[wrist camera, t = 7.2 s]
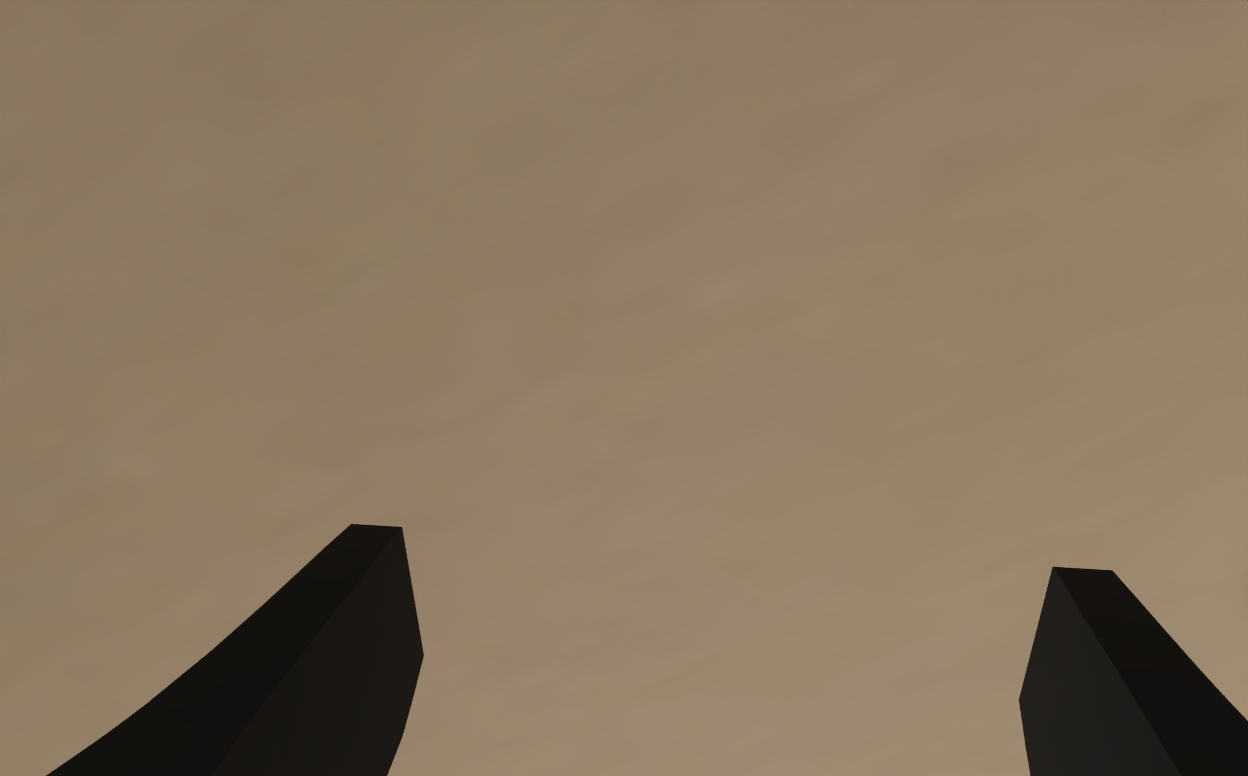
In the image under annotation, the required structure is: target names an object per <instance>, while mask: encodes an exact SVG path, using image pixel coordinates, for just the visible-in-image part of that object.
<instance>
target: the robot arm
mask: <svg viewBox="0 0 1248 776" xmlns="http://www.w3.org/2000/svg"><path fill="white" fill-rule="evenodd" d="M423 656H424V654H423V648H422V642H421V636H420V630H419V624H418V618H417V612H416V607H415V601H414V595H413V589H412V583H411V577H410V571H409V565H408V560H407V554H406V548H405V542H404V536H403V530H402V527H392V526H376V525H359V524H351V525H350V526H348V527H347V528H346V529H345V530H344V531H343V532H342V533H341V534H340V535H338V536H337V537H336V538H335V539H334V540H333V541H332V542H330V543H329V544H328V545H327V546H326V547H325V548H324V549H323V550H322V551H321V552H320V553H318V554H317V555H316V556H315V557H314V558H313V559H312V560H311V561H310V562H309V563H308V564H307V565H305V566H304V567H303V568H302V569H301V570H300V571H299V572H298V573H297V574H296V575H295V576H294V577H293V578H292V579H290V580H289V581H288V582H287V583H286V584H285V585H284V586H283V587H282V588H281V589H280V590H279V591H277V592H276V593H275V594H274V595H273V596H272V597H271V598H270V599H269V600H268V601H267V602H265V603H264V604H263V605H262V606H261V607H260V608H259V609H258V610H257V611H255V612H254V613H253V614H252V615H251V616H250V617H249V618H248V619H246V620H245V621H244V622H243V623H242V624H241V625H240V626H239V627H237V628H236V629H235V630H234V631H233V632H232V633H231V634H230V635H228V636H227V637H226V638H225V639H224V640H223V641H222V642H221V643H219V644H218V645H217V646H216V647H215V648H214V649H213V650H211V651H210V652H209V653H208V654H207V655H206V656H204V657H203V658H202V659H201V660H199V661H198V662H197V663H196V664H195V665H193V666H192V667H191V668H190V669H188V670H187V671H186V672H185V673H184V674H182V675H181V676H180V677H179V678H177V679H176V680H175V681H174V682H173V683H171V684H170V685H169V686H168V687H166V688H165V689H164V690H163V691H162V692H160V693H159V694H158V695H157V696H155V697H154V698H153V699H152V700H150V701H149V702H148V703H147V704H146V705H144V706H143V707H142V708H140V709H139V710H138V711H136V712H135V713H134V714H132V715H131V716H130V717H129V718H127V719H126V720H125V721H123V722H122V723H120V724H119V725H118V726H116V727H115V728H114V729H112V730H111V731H110V732H108V733H107V734H105V735H104V736H103V737H101V738H100V739H98V740H97V741H96V742H94V743H93V744H91V745H90V746H88V747H87V748H86V749H84V750H83V751H81V752H80V753H78V754H77V755H75V756H74V757H73V758H71V759H70V760H68V761H67V762H65V763H64V764H63V765H61V766H60V767H58V768H57V769H55V770H54V771H52V772H51V773H49V774H48V775H46V776H387V775H388V772H389V769H390V767H391V764H392V762H393V759H394V757H395V754H396V752H397V749H398V747H399V744H400V741H401V739H402V736H403V732H404V729H405V725H406V722H407V718H408V714H409V711H410V707H411V704H412V700H413V696H414V692H415V688H416V684H417V680H418V676H419V672H420V668H421V664H422V660H423ZM1019 704H1020V711H1021V718H1022V724H1023V731H1024V738H1025V745H1026V751H1027V757H1028V763H1029V769H1030V775H1031V776H1248V721H1247V720H1246V719H1245V718H1244V716H1243V715H1242V714H1241V713H1240V712H1239V711H1238V710H1237V709H1236V708H1235V707H1234V706H1233V705H1232V704H1231V703H1230V702H1229V701H1228V700H1227V698H1226V697H1225V696H1224V695H1223V694H1222V693H1221V692H1220V691H1219V690H1218V689H1217V688H1216V687H1215V686H1214V684H1213V683H1212V682H1211V681H1210V680H1209V679H1208V678H1207V677H1206V676H1205V675H1204V673H1203V672H1202V671H1201V670H1200V669H1199V668H1198V667H1197V666H1196V665H1195V663H1194V662H1193V661H1192V660H1191V659H1190V658H1189V657H1188V656H1187V654H1186V653H1185V652H1184V651H1183V650H1182V649H1181V648H1180V647H1179V645H1178V644H1177V643H1176V642H1175V641H1174V640H1173V639H1172V637H1171V636H1170V635H1169V634H1168V633H1167V632H1166V631H1165V630H1164V628H1163V627H1162V626H1161V625H1160V624H1159V623H1158V622H1157V620H1156V619H1155V618H1154V617H1153V616H1152V615H1151V614H1150V612H1149V611H1148V610H1147V609H1146V608H1145V607H1144V606H1143V604H1142V603H1141V602H1140V601H1139V600H1138V599H1137V598H1136V597H1135V595H1134V594H1133V593H1132V592H1131V591H1130V590H1129V589H1128V588H1127V586H1126V585H1125V584H1124V583H1123V582H1122V581H1121V580H1120V579H1119V577H1118V576H1117V575H1116V574H1115V573H1114V572H1113V571H1112V570H1097V569H1080V568H1064V567H1053V568H1052V572H1051V576H1050V580H1049V584H1048V587H1047V591H1046V595H1045V599H1044V603H1043V607H1042V611H1041V615H1040V619H1039V623H1038V627H1037V631H1036V635H1035V639H1034V643H1033V647H1032V650H1031V654H1030V658H1029V662H1028V666H1027V670H1026V674H1025V678H1024V682H1023V686H1022V690H1021V694H1020V698H1019Z"/></svg>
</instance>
